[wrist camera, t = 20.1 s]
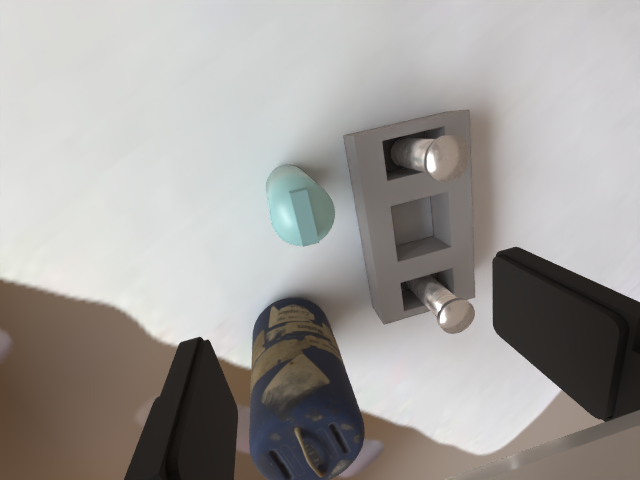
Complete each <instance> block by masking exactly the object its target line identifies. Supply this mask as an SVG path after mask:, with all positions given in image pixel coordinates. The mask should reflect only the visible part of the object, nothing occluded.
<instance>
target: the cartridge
mask: <svg viewBox="0 0 640 480" xmlns="http://www.w3.org/2000/svg"><path fill="white" fill-rule="evenodd" d="M266 191H267V198H268V205H269V212H270V218H271V224H272V226H273V229H274V231H275V232H276V234H277V235H278V236H279V237H280V238H281V239H282V240H284V241H285V242H287V243H289V244H292V245H297V246H303V247H304V246H307V245H311V244H315V243H319V241H320V240H321V239H323V238H324V237H325V236H326V235H327V234H328V232H329V231H330V229H331V227H332V225H333V222H334V218H335V209H334V205H333V202H332V200H331V198H330V196H329V195H328V194H327V193H326V192H325V191H324V190H323V189H322V188H321V187H320V186H319V185H318V184H317V183H316V182H315V181H313V180H312V179H311V178H310V177H309V176H308V175H307V174H306V173H305V172H304V171H303V170H301V169H300V168H298V167H296V166H292V165H284V166H280V167H278V168H276V169H275V170H274V171H273V172H272V173H271V174H270V175H269V177H268V179H267V183H266Z"/></svg>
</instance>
